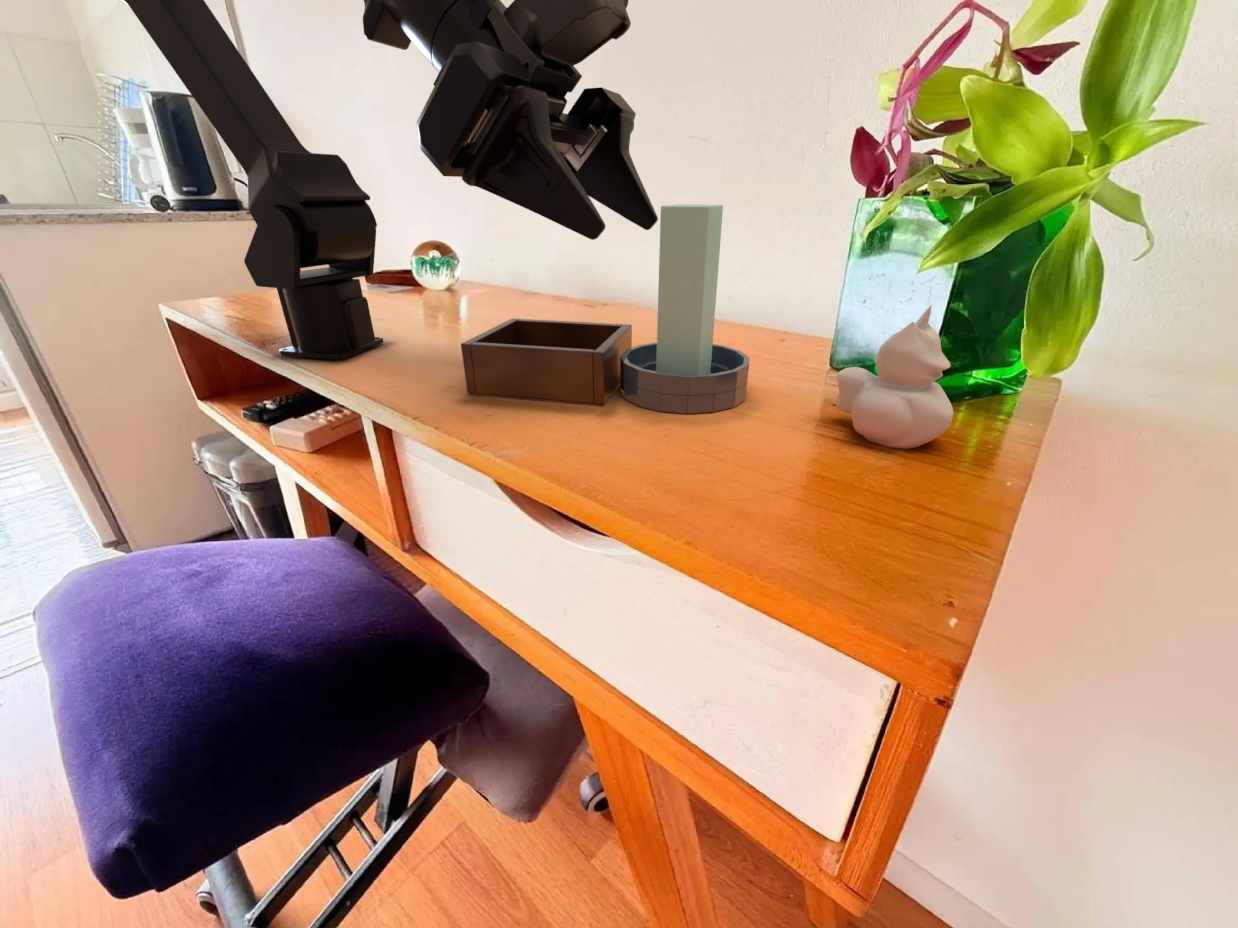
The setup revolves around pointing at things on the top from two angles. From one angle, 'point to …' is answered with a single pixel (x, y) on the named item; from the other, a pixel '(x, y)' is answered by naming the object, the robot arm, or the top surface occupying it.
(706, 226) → the tall sage green pillar
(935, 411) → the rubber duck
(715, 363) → the bowl
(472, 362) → the holder
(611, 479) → the top surface
